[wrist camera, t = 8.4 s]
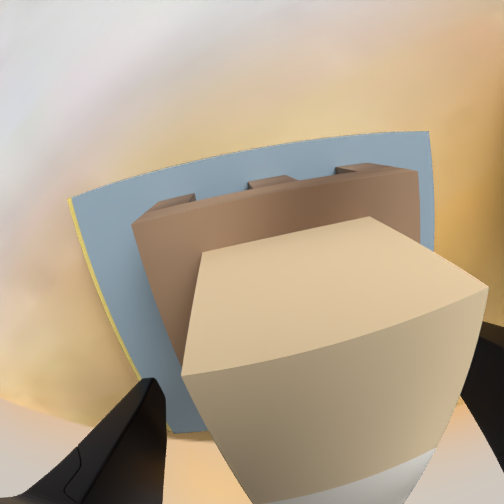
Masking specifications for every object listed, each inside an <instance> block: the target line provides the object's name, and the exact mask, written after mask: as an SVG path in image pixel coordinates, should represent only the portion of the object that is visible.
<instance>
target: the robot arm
mask: <svg viewBox="0 0 504 504" xmlns="http://www.w3.org/2000/svg"><path fill="white" fill-rule="evenodd" d="M460 396H461V397H462V399H463V400H464V402H465V404H466V405H467V407H468V409H469V410H470V412H471V414H472V415H473V417H474V418H475V420H476V422H477V424H478V425H479V427H480V429H481V431H482V432H483V434H484V436H485V438H486V440H487V441H488V443H489V445H490V447H491V448H492V451H493V452H494V454H495V456H496V458H498V459H497V460H498V462H499V464H500V466H501V468H502V470H503V472H504V327H501V326H498V325H494V324H491V323H487V322H484V321H482V325H481V329H480V333H479V337H478V341H477V344H476V348H475V351H474V355H473V358H472V361H471V365H470V368H469V371H468V374H467V377H466V380H465V383H464V385H463V388H462V391H461V394H460ZM166 444H167V428H166V398H165V395H164V393H163V391H162V389H161V387H160V385H159V383H158V381H157V380H156V379H155V378H154V377H149V378H143V379H141V380H140V381H139V382H138V383H137V384H136V385H135V386H134V387H133V388H132V390H131V391H130V392H129V393H128V394H127V395H126V396H125V397H124V398H123V399H122V400H121V401H120V402H119V403H118V404H117V405H116V406H115V407H114V408H113V409H112V410H111V411H110V412H109V413H108V414H107V416H106V417H105V418H104V419H103V420H102V421H101V422H100V423H99V424H98V425H97V426H96V427H95V428H94V429H93V430H92V431H91V432H90V433H89V434H88V435H87V437H85V438H84V440H82V441H81V443H79V444H78V447H76V448H75V449H73V451H72V452H71V453H70V454H69V455H68V456H67V457H65V459H63V460H62V461H61V462H60V463H59V464H58V465H57V466H56V467H55V468H53V469H52V470H51V471H50V472H49V473H48V474H46V475H45V476H44V477H43V478H42V479H40V480H39V481H38V482H37V483H36V484H34V485H33V486H32V487H31V488H29V489H28V490H27V491H25V492H24V493H22V494H20V495H17V496H14V497H6V498H0V504H162V500H163V484H164V469H165V457H166Z"/></svg>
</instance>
